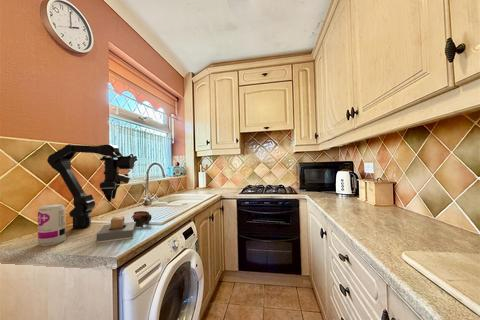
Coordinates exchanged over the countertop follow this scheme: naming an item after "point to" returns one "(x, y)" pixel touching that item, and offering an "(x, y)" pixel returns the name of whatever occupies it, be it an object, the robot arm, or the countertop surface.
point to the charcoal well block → (116, 233)
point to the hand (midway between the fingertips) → (111, 200)
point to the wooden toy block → (117, 223)
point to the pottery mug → (141, 218)
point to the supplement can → (51, 224)
